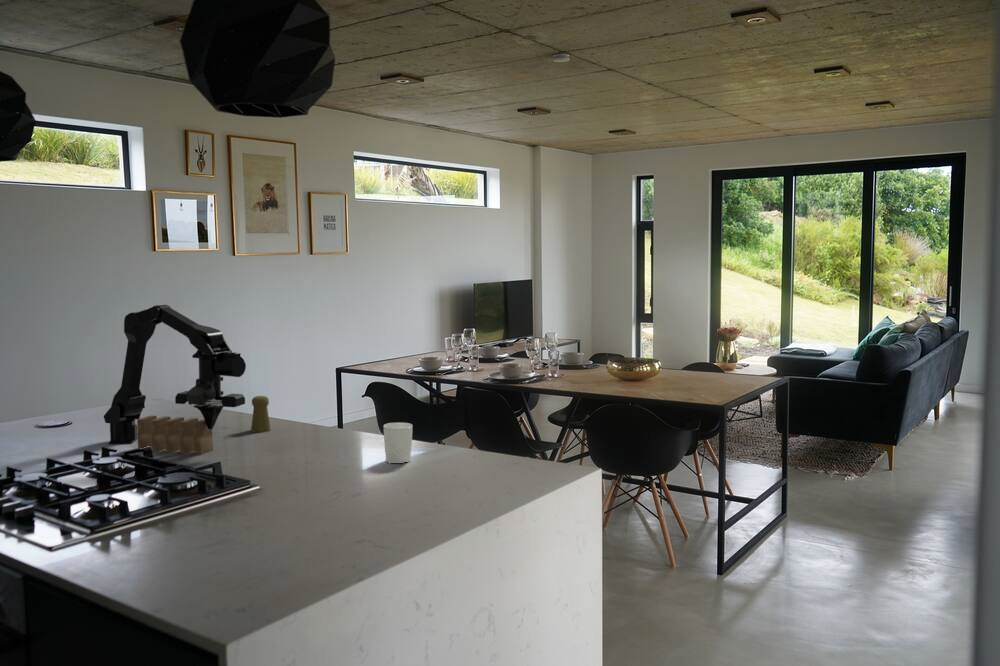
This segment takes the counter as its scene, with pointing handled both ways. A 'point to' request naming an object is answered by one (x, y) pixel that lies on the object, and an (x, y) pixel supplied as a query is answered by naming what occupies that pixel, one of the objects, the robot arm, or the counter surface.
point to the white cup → (398, 442)
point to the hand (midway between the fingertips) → (210, 429)
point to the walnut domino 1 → (145, 431)
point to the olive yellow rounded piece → (260, 414)
